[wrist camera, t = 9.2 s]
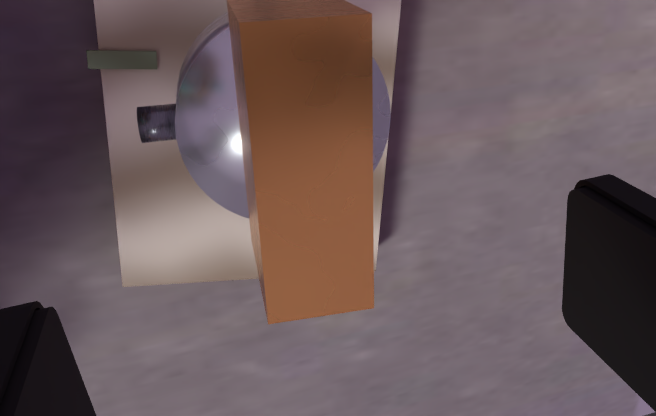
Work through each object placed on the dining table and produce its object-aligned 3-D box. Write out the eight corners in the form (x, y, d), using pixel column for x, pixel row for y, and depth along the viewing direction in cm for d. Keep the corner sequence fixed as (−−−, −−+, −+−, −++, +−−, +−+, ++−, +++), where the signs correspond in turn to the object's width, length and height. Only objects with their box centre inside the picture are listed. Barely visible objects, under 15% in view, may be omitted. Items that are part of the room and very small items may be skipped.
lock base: (366, 254, 37) (415, 345, 29) (116, 268, 34) (94, 373, 26) (407, -217, 27) (498, -276, 19) (61, -255, 24) (0, -343, 16)
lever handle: (364, -21, 21) (455, 7, 14) (367, 188, 25) (440, 297, 18) (123, -7, 20) (85, 32, 13) (160, 212, 23) (148, 342, 16)
